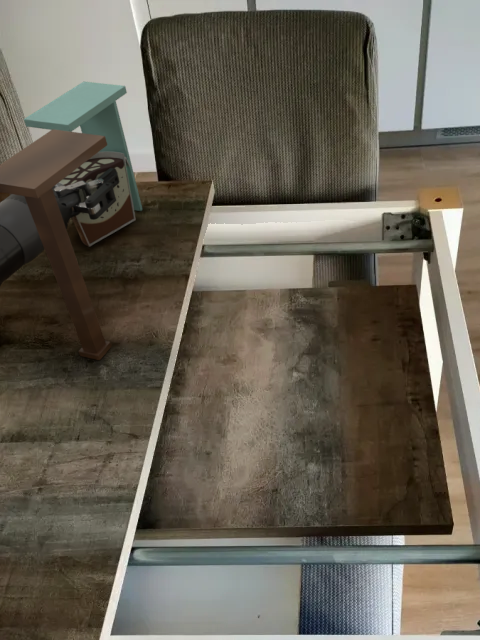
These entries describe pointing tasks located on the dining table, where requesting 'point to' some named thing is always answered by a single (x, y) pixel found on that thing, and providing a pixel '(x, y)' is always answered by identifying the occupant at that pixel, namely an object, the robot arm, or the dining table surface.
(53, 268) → the side stand
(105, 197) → the robot arm
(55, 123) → the teal plank stand
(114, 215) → the food container
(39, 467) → the dining table surface
